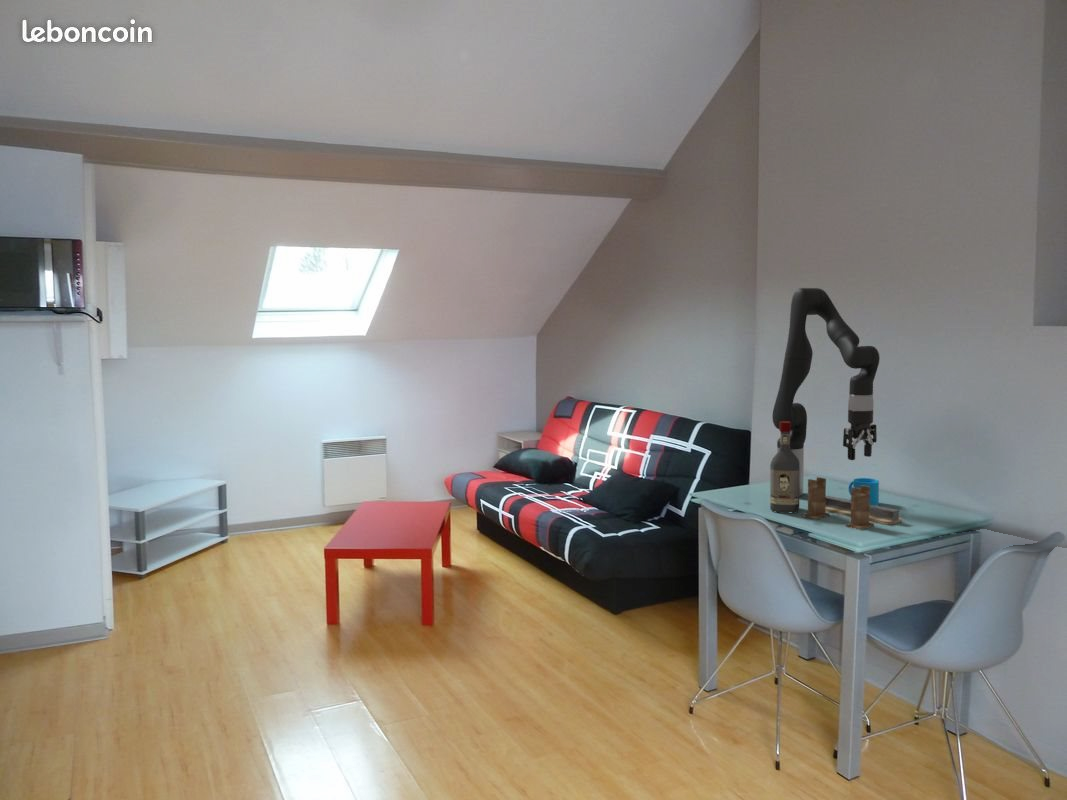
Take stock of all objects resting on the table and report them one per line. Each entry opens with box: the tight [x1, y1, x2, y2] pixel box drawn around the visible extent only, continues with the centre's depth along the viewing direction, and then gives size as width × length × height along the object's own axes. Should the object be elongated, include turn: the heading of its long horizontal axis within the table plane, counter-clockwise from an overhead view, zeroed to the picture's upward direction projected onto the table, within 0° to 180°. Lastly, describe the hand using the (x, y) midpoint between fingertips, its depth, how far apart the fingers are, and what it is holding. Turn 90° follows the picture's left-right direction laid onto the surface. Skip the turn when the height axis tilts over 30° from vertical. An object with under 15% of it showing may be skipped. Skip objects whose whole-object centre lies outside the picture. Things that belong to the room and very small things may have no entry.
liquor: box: [769, 421, 800, 513], centre depth 277 cm, size 9×9×30 cm
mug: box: [848, 477, 880, 506], centre depth 286 cm, size 12×8×8 cm
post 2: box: [845, 485, 875, 531], centre depth 256 cm, size 5×7×12 cm
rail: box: [825, 495, 900, 521], centre depth 269 cm, size 26×3×3 cm, turn 34°
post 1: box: [803, 476, 831, 520], centre depth 269 cm, size 5×7×12 cm
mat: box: [825, 507, 903, 526], centre depth 269 cm, size 26×7×1 cm, turn 34°
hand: (859, 458), depth 267 cm, fingers open, 8 cm apart
